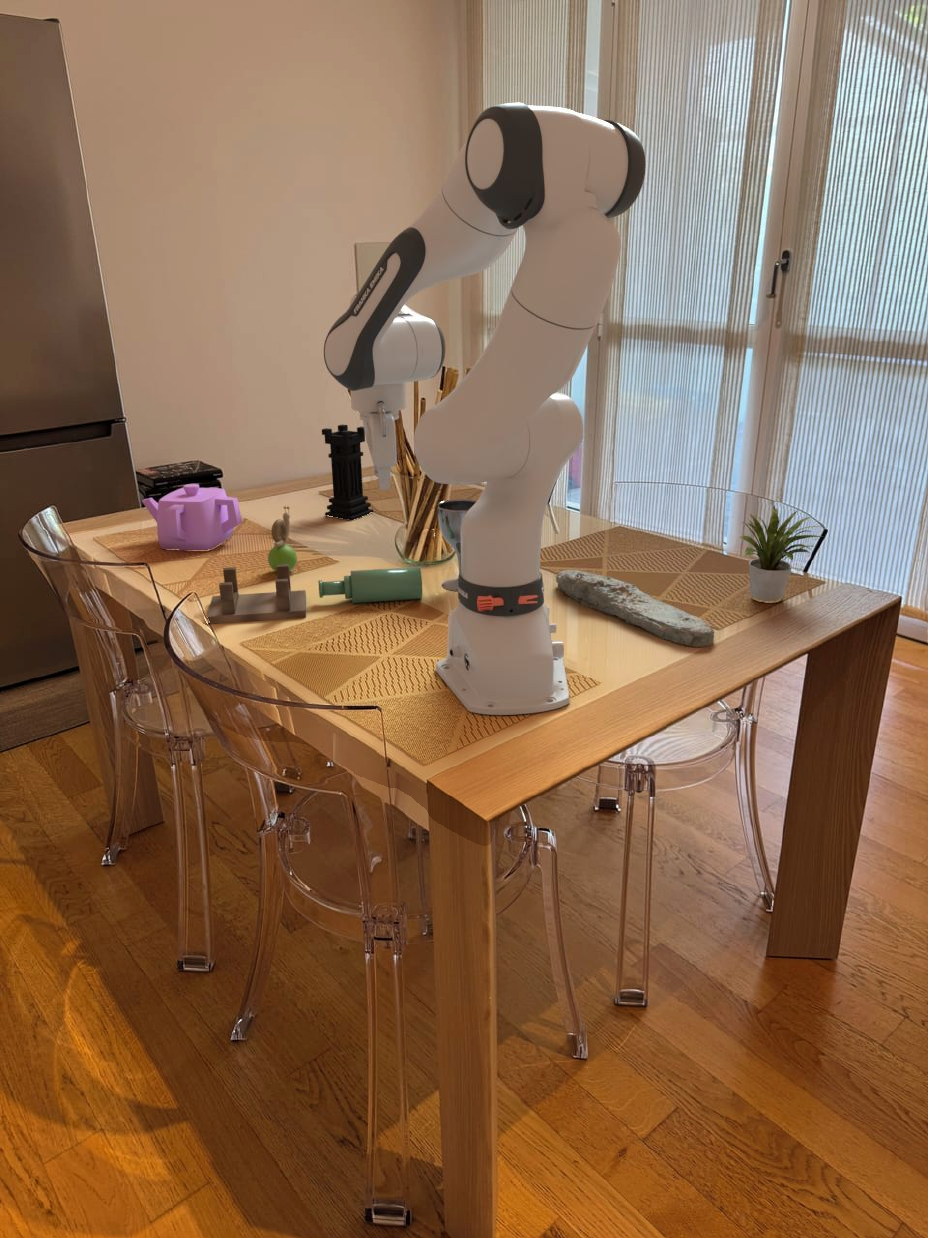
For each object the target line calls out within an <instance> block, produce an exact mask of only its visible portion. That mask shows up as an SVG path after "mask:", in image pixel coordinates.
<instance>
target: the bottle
mask: <svg viewBox="0 0 928 1238" xmlns="http://www.w3.org/2000/svg"><path fill="white" fill-rule="evenodd" d="M317 583H318V596H319V598H321V599H322V598H324V596H326V597H327V596H342V595H344V598H345V600H350V599H351V601H352V604H358V603H359V604H360V603H361V604H362V603H376V602H377V603H378V602H392V601H406V600H407V601H408V600H422V599H423V578H422V571H421V567H420V566H413V567H412V566H410V567H409V566H408V567H396V568H395V567H393V568H377V569H361V570H359V569H358V570H350V575H343V580H332V581H331V580H330V581H323V580H322V579H321V580H319V579H318V582H317Z"/></svg>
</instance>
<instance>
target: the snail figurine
mask: <svg viewBox="0 0 928 1238" xmlns="http://www.w3.org/2000/svg"><path fill="white" fill-rule="evenodd" d="M283 509H284V513H283V514H282V519H280V518H278V519H276V520H275V521H273V524H272V525H271V533H270V534H271V538H272V540H273V541H274V543H273V544H274V546H273V547H272V548H271V549H270V551H269V552H268V555H267V561H268V565H269V567H270V568H271V569H272V570H273V571H275V572H277V565H280V564H289V572H290V571H292V570H294V568H295V567H296V564H297V562H298V556H297V552H296V550H295V549H294V548H293V547H292V546H291V545H288V544H286V543H287V541H288V539H289V535H290V529H291V528H290V525H291V524H290V517H291V516H290V506H286V505H285V506H283ZM286 509H287V510H288V512H286Z"/></svg>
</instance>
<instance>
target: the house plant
mask: <svg viewBox="0 0 928 1238" xmlns="http://www.w3.org/2000/svg"><path fill="white" fill-rule="evenodd" d="M798 511H799V509H797V510H795V511H794V512H793V513H791V515H789V517H788V518H786V519H785V520H784V521H783V523H782V524H780V518H779V510H778V508H776V505H774V506H773V509H772V512H771V516H770V520H769V522H768V523H769V524H768V527H767V525H766V523H765V522H764V520H763V519H762V518H761V517H759V516H756V515H752V514H750V513H749V515H750V517H751V519H752V520H753V521H752V520H750V519H748V518H747V520H748V521H749V522H745V521H741V523H742V524H744V525H745V526H746V527H747V528H748V530H750V532H751V533H752V535H753V536H754V538H755V539H753V537H751V536H749V535H741V536H739V538H740V539H742V540H744V541H745V542H747V543H749V544H751V545H752V546H753V547H754V548H753V547H750V546H747V547H746V548H745V551H744V553H743V554H745V555H744V556H743V558H745V557H746V556H750V555H756V556H757V557H758V558H753V559H750V561H748V573H749V591H750V597H751V596H752V597H753V598H756V599H758V600H763V601H776V600H779V599H781V598H782V597H784V594H785V592H786V589H787V586H788V585H787V584H788V582H789V580H790V579H789V578H790V575H791V571H792V569H793V565H792V564H791V563H790V562H788V561H786V559H787V558H788V559H790V560H791V561H793V560H794V553H808V554H810V555H812V553H811V552H810V551H808V549H809V550H811V551H812V549H811V548H810V547H815V546H814V545H805V544H802V543H797V544H793V545H790V544H791V543H794V542H796V541H799V540H803V539H809V538H821V537H824V536H822V535H814V534H801V533H806V532H814V531H813V530H807V529H811V528H821V527H822V526H819V525H817V526H815V525H812V526H805V527H801V525H802V524H803V522H806V520H808V519H810V518H811V516H808V517H804V518H802V519H800V520H798V521H796V522H795V523H794V524H793V525H791V527H788V525H789V523H790V522H791V520H792V519H793V518H794V516H795V515H796V514H797V512H798ZM757 518H758V519H759V520H760V521H761V522H762V524H763V526H762V525H761V523H760V522H759V520H758V519H757ZM763 527H764V529H765V532H764V529H763ZM800 527H801V528H800ZM799 528H800V529H799ZM752 529H753V530H752ZM804 529H806V530H804ZM798 531H799V532H798ZM754 532H755V533H754ZM796 532H797V533H796ZM765 533H766V534H765ZM794 533H796V534H794ZM793 534H794V535H793ZM799 534H801V535H799ZM792 535H793V536H792ZM790 536H791V537H790ZM797 547H799V548H797ZM793 548H795V549H793ZM805 548H807V549H805ZM755 552H756V553H755ZM782 599H783V598H782Z"/></svg>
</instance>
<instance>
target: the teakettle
mask: <svg viewBox="0 0 928 1238" xmlns="http://www.w3.org/2000/svg"><path fill="white" fill-rule="evenodd" d="M227 495H228V494H227V493H226V489H224V488H219V487H215V486H214V487H211V486H210V487H200V485H199V483H188V484H185V485H183V486H182V487H180V488H177V489H176V490H174V491H171V492H170V493H168V494H166V495H164V496H162V497H161V498H159V500H158V502H157V501H156V500H155V499H154V498H153V497H149V498H148V497H147V498H144V499H142V500H141V502H142V504H143V505H144V506H145V508H146V510H147V511H148V512H149V514H150V515H151V516H152V518H153V519H154V521H155V522H156V528H157V529H156V530H157V533H156V534H157V540H158V543H159V545H160V548H161V549H162V548H163V549H179V550H208V549H212V548H214V547H216V546H217V545H219V544H220V543H222V542H224V541H225V540H226V539H227V538H229V537H230V536H231V535H232V536H233V534H234V529H235V528H236V527H238V526H239V525H241V524H243V519H242V515H241V509H240V505H239V500H238V497H231V496H227ZM232 533H233V534H232ZM163 549H162V550H163Z"/></svg>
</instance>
